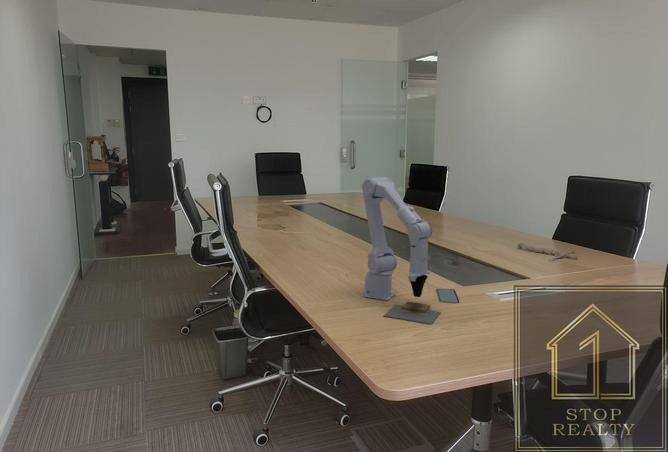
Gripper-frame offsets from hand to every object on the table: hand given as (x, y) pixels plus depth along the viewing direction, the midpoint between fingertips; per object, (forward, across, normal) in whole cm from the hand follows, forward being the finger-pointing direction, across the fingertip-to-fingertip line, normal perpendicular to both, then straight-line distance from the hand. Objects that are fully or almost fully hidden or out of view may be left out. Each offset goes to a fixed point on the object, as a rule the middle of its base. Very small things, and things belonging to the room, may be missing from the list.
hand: (417, 296), depth 170 cm
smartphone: (+6, +20, -6) cm, 21 cm away
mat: (+5, -5, 0) cm, 7 cm away
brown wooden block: (+4, +2, 0) cm, 4 cm away
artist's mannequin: (+6, +111, -36) cm, 117 cm away
